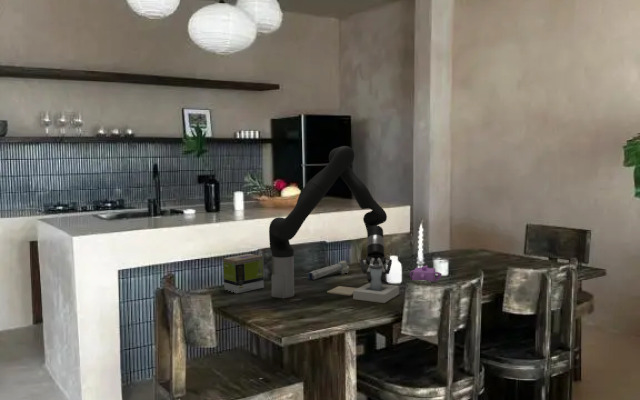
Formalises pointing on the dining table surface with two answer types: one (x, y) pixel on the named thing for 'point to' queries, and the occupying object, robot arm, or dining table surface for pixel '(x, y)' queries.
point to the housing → (376, 293)
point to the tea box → (243, 273)
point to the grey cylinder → (329, 270)
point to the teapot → (425, 274)
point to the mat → (342, 290)
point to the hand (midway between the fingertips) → (376, 281)
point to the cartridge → (376, 277)
